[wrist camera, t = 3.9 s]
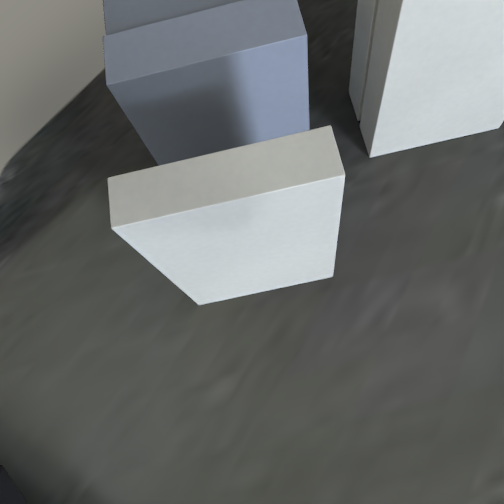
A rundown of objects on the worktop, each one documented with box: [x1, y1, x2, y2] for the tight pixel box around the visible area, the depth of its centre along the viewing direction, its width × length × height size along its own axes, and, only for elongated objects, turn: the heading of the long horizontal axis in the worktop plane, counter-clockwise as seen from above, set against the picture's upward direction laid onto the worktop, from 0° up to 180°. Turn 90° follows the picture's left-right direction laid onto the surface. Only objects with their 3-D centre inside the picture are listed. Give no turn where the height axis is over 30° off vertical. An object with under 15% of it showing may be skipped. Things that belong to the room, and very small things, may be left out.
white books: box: [349, 0, 504, 158], centre depth 29 cm, size 6×10×15 cm, turn 101°
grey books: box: [103, 0, 310, 166], centre depth 31 cm, size 12×11×14 cm
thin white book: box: [108, 126, 345, 305], centre depth 26 cm, size 2×10×15 cm, turn 101°
